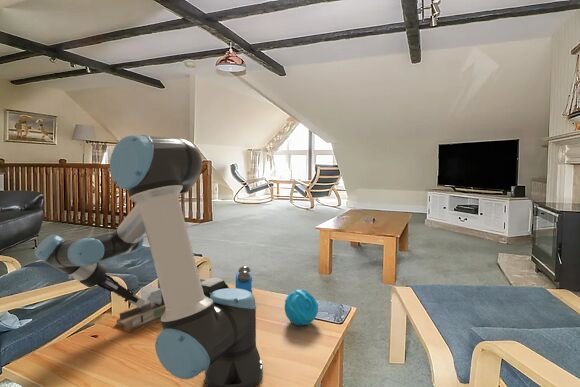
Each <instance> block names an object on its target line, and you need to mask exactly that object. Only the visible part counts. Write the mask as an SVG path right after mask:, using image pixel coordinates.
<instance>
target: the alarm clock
mask: <svg viewBox="0 0 580 387" xmlns="http://www.w3.org/2000/svg"><path fill="white" fill-rule="evenodd" d="M251 271H252V270H251V268H250V267H249V266H246V265H243V266H241V267H239V268H238V272H236V274H235V288H237V289H244V290H247V291H250V292H251V293H252V294H253V288H252V285H253V284H252V283H253V277H252V272H251Z"/></svg>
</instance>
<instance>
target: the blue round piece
mask: <svg viewBox="0 0 580 387" xmlns="http://www.w3.org/2000/svg"><path fill="white" fill-rule="evenodd" d="M318 312H319V304H318V302H317V300H316V299H315V297H314V296H313V295H311V294H310V293H309V292H308V291H306V290H305V289H296V290H294V291H291V292H290V293H289V294H288V295H287V296H286V298H285V300H284V313H285V315H286V317H287V320H289V322H290V323H291V324H293V325H295V326H299V327H300V326H306V325H308V324H309V325H310V323H312V322H313V321H314V320H315V318H316V317H317V315H318Z"/></svg>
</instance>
